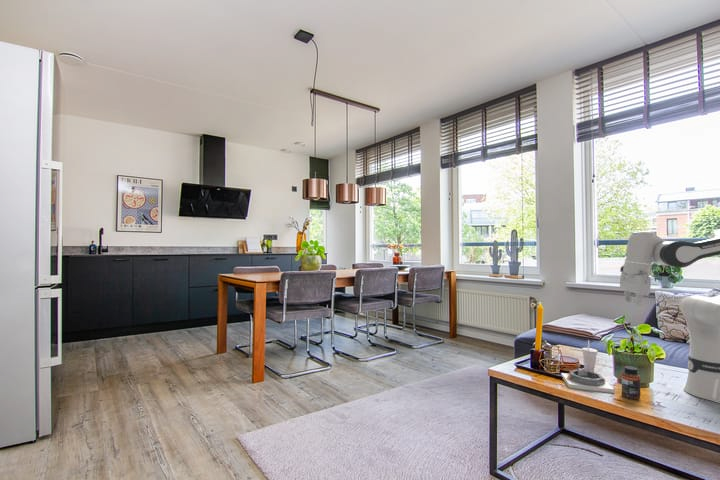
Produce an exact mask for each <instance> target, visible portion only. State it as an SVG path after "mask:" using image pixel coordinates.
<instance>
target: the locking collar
mask: <svg viewBox="0 0 720 480" xmlns="http://www.w3.org/2000/svg"><path fill="white" fill-rule="evenodd" d="M567 374H568V379H570V380H572V381H574V382H577V383H580V384H583V385H590V386H600V385H604V383H605V381H606V379H605V378H604V377H603V376H602V375H601V374H600V373H597V372H594V371H593V372H591V371H586V370H585V369H584V370H583V369H573V370H569V371H568V373H567ZM583 377H588V378H583ZM590 378H591V379H590Z"/></svg>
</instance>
